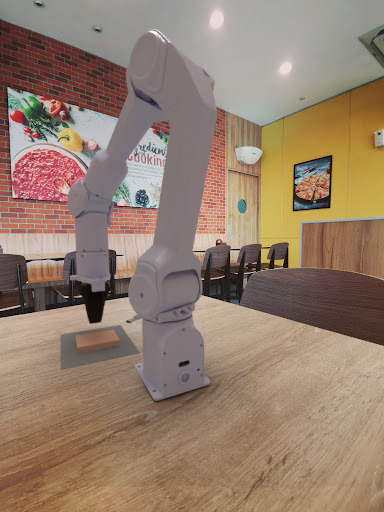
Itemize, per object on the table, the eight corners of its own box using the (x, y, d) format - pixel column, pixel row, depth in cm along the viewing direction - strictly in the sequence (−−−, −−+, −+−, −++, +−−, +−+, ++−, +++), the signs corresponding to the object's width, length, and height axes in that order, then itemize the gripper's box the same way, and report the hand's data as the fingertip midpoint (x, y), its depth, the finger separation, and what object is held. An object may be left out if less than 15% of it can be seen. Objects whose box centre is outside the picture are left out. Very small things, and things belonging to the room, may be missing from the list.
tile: (113, 335, 52) (119, 346, 46) (75, 342, 49) (77, 354, 43) (113, 329, 52) (119, 339, 46) (75, 335, 48) (77, 347, 43)
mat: (139, 355, 44) (139, 352, 44) (61, 372, 38) (60, 369, 38) (120, 326, 58) (120, 325, 58) (60, 336, 53) (60, 334, 52)
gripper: (67, 250, 53) (70, 315, 54) (70, 254, 40) (73, 338, 41) (103, 249, 56) (105, 310, 57) (116, 252, 43) (119, 331, 44)
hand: (95, 322), depth 49 cm, fingers closed
